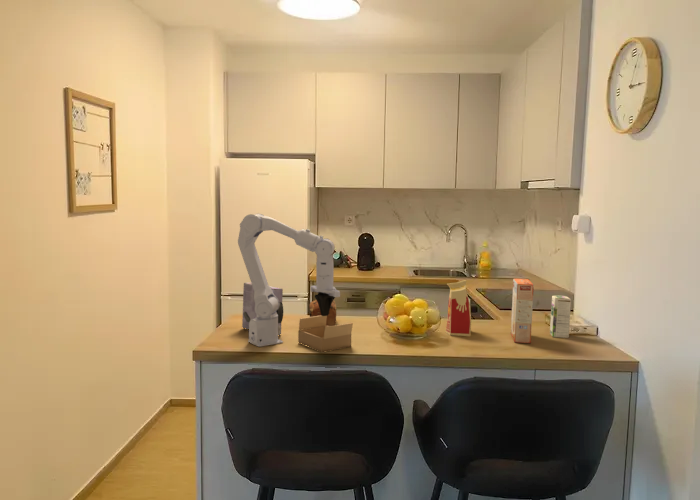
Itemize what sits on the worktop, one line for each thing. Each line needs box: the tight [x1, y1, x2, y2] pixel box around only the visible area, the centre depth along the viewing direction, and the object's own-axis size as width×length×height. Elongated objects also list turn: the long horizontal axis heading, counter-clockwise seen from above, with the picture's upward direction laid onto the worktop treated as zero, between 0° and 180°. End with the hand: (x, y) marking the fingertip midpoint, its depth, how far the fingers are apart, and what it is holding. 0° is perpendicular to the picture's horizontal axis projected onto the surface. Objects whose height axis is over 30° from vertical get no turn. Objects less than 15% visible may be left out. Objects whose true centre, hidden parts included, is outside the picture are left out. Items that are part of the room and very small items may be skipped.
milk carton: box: [445, 279, 472, 337], centre depth 204 cm, size 9×9×20 cm
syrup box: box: [549, 295, 572, 339], centre depth 201 cm, size 6×6×14 cm
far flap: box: [298, 316, 327, 330], centre depth 190 cm, size 11×4×1 cm
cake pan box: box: [241, 281, 284, 335], centre depth 201 cm, size 19×5×18 cm, turn 47°
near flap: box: [323, 322, 354, 339], centre depth 179 cm, size 11×4×1 cm
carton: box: [297, 326, 352, 353], centre depth 185 cm, size 12×14×4 cm
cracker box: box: [510, 278, 535, 344], centre depth 196 cm, size 14×6×21 cm, turn 168°
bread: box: [308, 299, 337, 326], centre depth 216 cm, size 19×11×10 cm, turn 3°
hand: (324, 315), depth 185 cm, fingers closed
